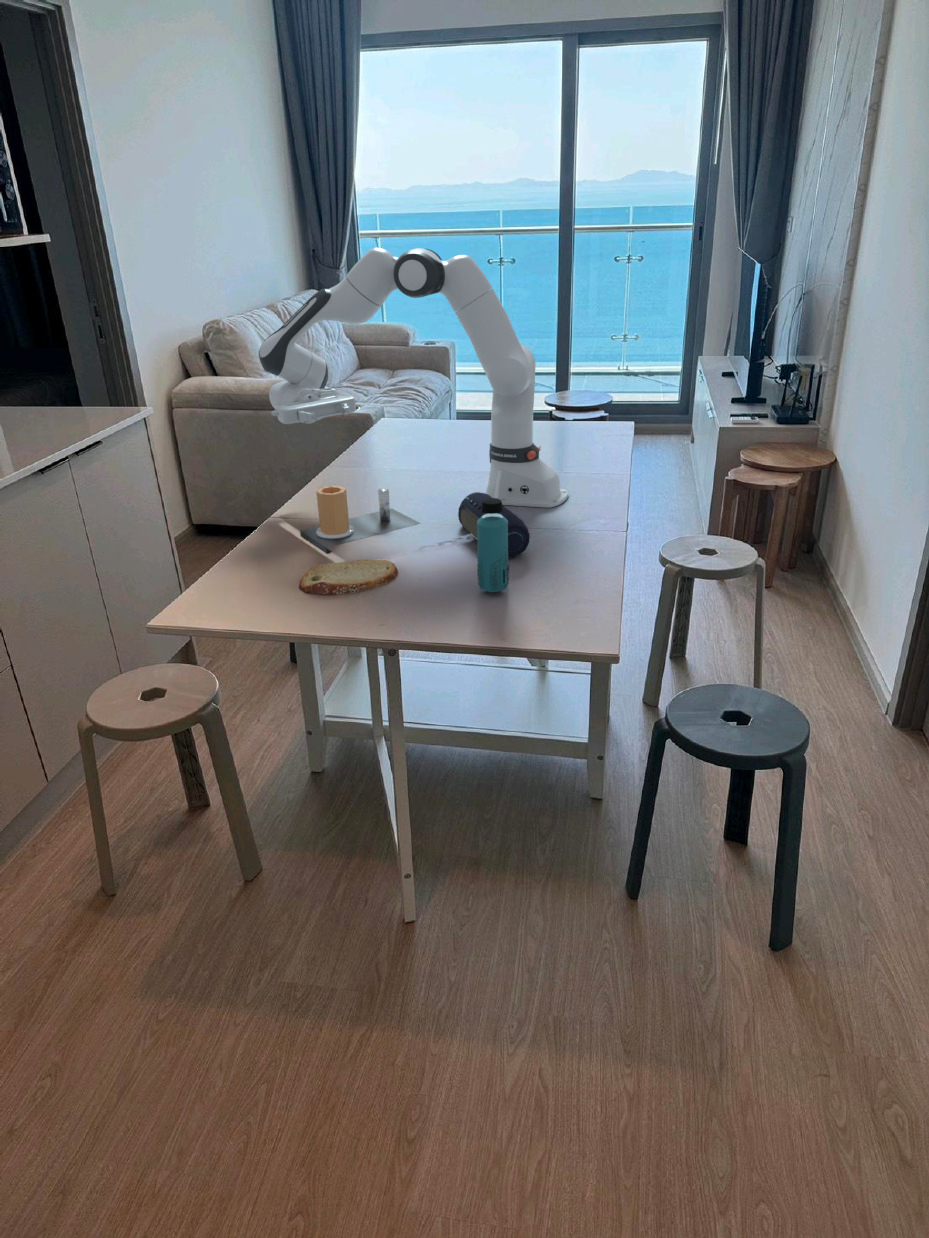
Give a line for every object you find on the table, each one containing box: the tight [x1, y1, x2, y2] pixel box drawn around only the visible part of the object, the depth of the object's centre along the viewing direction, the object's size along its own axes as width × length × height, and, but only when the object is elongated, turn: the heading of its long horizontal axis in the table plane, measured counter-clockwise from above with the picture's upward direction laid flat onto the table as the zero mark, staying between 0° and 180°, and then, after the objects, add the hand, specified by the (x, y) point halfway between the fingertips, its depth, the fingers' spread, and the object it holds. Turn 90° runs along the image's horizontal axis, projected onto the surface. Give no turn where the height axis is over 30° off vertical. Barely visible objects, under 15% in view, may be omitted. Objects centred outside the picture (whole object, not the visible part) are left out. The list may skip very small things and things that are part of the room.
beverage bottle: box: [476, 498, 510, 593], centre depth 168 cm, size 6×7×20 cm
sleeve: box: [315, 485, 350, 535], centre depth 197 cm, size 6×6×10 cm
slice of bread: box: [298, 559, 399, 596], centre depth 178 cm, size 18×18×4 cm
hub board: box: [299, 487, 421, 554], centre depth 202 cm, size 26×14×11 cm, turn 125°
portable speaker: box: [457, 491, 531, 559], centre depth 194 cm, size 25×10×10 cm, turn 21°
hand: (330, 414), depth 204 cm, fingers open, 8 cm apart
